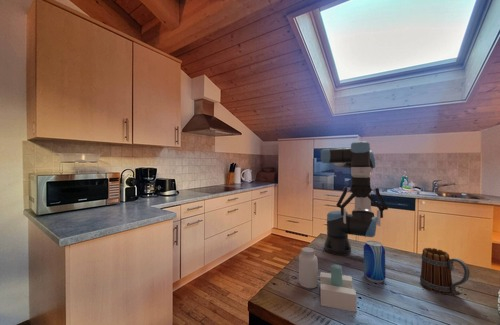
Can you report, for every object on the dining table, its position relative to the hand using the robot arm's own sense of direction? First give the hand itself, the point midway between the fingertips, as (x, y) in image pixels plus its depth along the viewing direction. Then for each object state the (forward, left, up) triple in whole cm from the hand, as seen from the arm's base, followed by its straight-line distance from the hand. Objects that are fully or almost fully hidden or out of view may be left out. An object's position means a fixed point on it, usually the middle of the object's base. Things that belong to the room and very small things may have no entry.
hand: (361, 223), depth 94 cm
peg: (+16, -12, -25) cm, 32 cm away
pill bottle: (+10, -23, -26) cm, 35 cm away
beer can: (-4, +6, -26) cm, 26 cm away
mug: (-2, +30, -26) cm, 40 cm away
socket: (+16, -12, -25) cm, 32 cm away
